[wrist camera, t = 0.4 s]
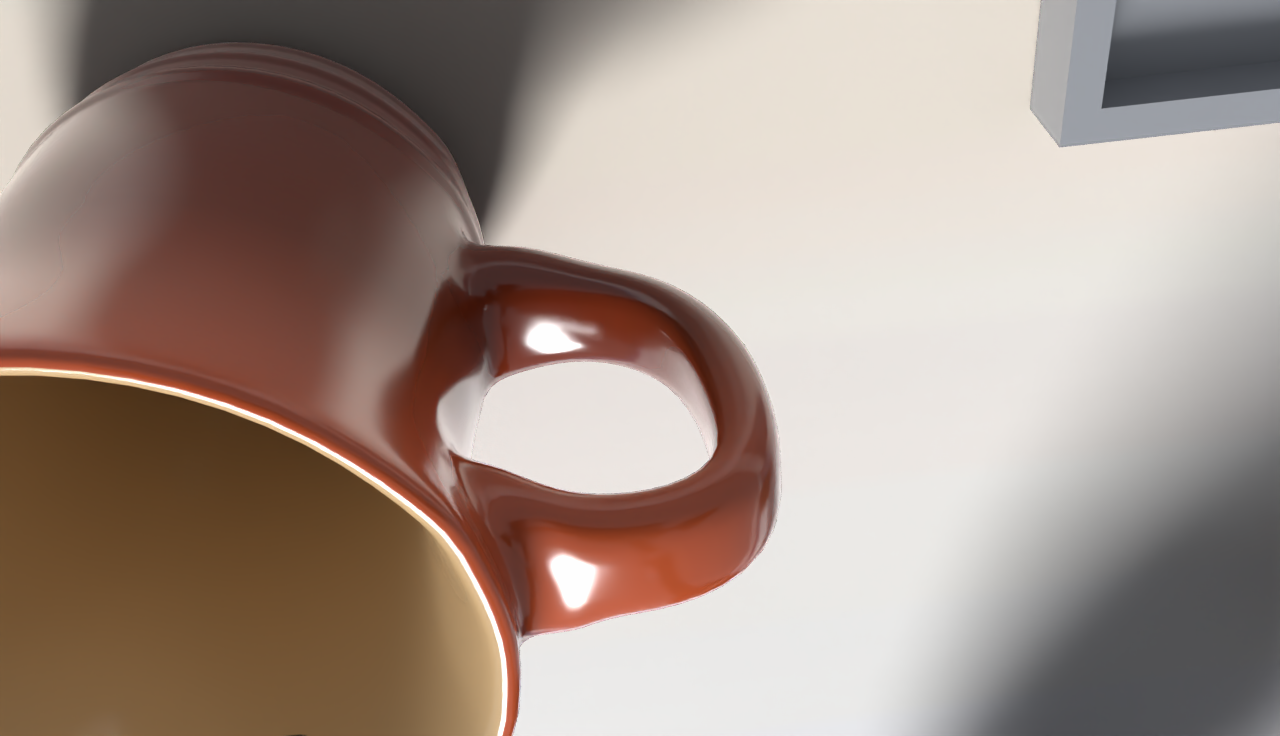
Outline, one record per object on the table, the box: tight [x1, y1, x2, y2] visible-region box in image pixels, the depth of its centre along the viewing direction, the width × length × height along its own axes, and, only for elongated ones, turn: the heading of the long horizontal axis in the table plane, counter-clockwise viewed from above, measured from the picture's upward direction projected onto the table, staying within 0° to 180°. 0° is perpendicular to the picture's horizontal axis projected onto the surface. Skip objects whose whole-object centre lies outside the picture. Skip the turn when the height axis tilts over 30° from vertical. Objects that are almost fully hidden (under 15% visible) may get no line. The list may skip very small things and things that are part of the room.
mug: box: [0, 42, 782, 736], centre depth 17 cm, size 12×9×10 cm
